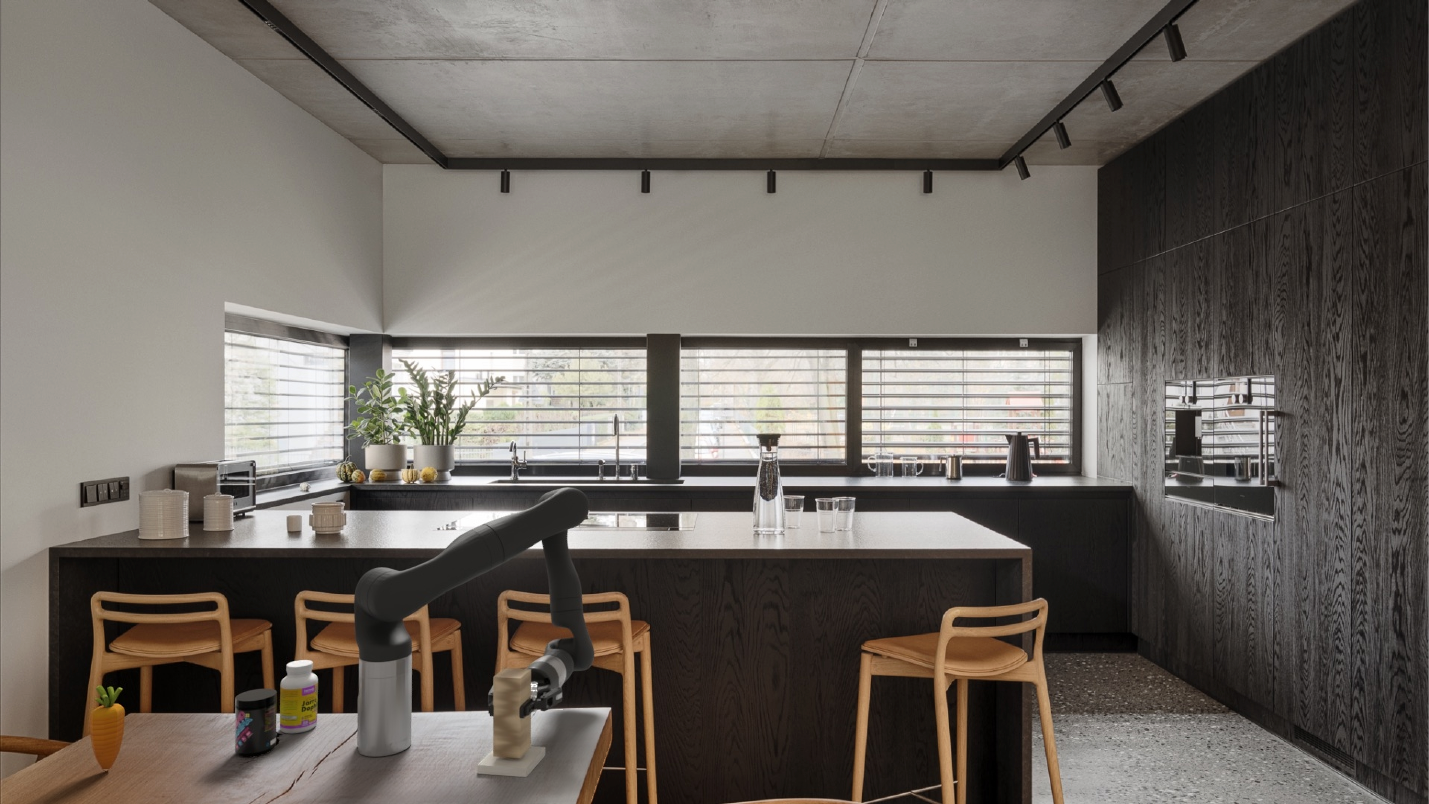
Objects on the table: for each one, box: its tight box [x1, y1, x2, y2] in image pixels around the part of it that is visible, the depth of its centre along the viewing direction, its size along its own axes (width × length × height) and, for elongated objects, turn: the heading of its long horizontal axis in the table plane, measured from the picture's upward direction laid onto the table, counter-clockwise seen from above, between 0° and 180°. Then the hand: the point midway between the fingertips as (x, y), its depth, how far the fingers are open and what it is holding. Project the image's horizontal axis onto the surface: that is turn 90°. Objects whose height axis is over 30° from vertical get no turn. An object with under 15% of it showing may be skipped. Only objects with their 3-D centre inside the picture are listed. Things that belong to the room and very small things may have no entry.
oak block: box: [492, 667, 532, 758], centre depth 145 cm, size 5×5×14 cm
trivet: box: [476, 745, 546, 778], centre depth 144 cm, size 9×9×2 cm
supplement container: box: [234, 688, 278, 759], centre depth 150 cm, size 7×7×10 cm
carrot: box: [89, 685, 126, 770], centre depth 141 cm, size 5×5×15 cm
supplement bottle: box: [279, 659, 319, 734], centre depth 161 cm, size 7×7×13 cm
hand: (506, 711), depth 142 cm, fingers closed on oak block, 5 cm apart
